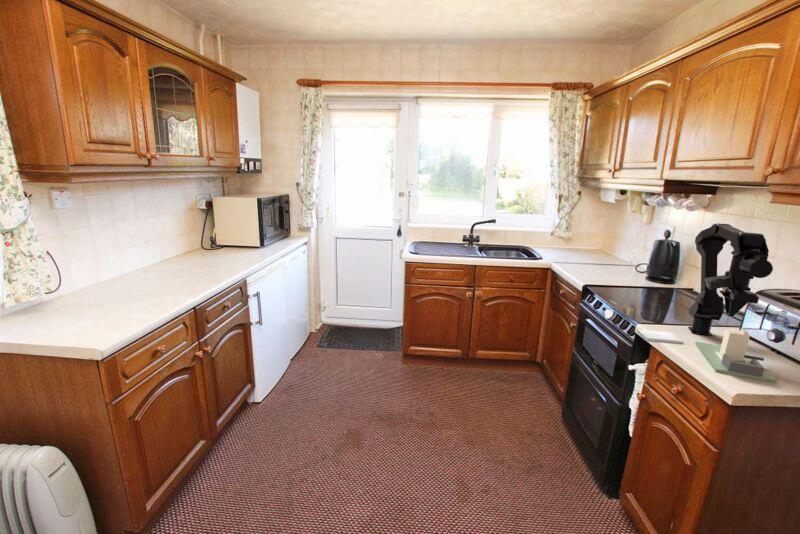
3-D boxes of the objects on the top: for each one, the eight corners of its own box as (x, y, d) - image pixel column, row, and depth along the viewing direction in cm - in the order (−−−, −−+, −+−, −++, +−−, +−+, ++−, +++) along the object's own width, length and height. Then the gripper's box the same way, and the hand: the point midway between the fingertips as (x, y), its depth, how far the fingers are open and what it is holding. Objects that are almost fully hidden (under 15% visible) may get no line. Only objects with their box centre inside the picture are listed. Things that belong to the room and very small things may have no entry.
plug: (719, 353, 127) (726, 325, 125) (759, 360, 123) (767, 331, 121) (723, 358, 124) (730, 329, 121) (764, 365, 120) (773, 336, 117)
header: (721, 362, 121) (723, 353, 120) (753, 368, 118) (755, 359, 117) (728, 370, 116) (730, 361, 115) (761, 377, 113) (764, 368, 112)
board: (694, 343, 137) (695, 340, 136) (744, 352, 131) (745, 348, 131) (715, 371, 117) (716, 367, 117) (774, 382, 112) (775, 378, 111)
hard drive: (646, 337, 138) (683, 341, 136) (636, 329, 146) (671, 331, 144) (645, 342, 139) (682, 345, 137) (635, 333, 146) (670, 335, 145)
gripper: (702, 262, 137) (693, 302, 141) (720, 273, 121) (709, 319, 124) (741, 265, 133) (730, 308, 137) (765, 278, 116) (752, 325, 120)
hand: (729, 314), depth 130 cm, fingers open, 3 cm apart
